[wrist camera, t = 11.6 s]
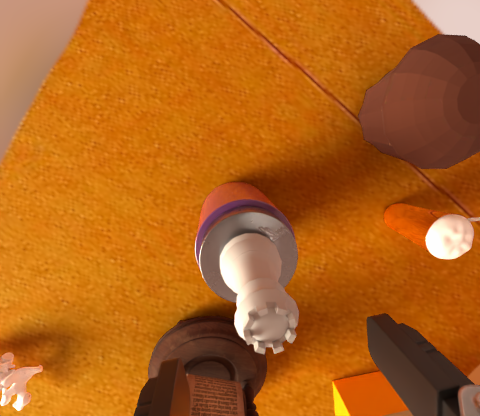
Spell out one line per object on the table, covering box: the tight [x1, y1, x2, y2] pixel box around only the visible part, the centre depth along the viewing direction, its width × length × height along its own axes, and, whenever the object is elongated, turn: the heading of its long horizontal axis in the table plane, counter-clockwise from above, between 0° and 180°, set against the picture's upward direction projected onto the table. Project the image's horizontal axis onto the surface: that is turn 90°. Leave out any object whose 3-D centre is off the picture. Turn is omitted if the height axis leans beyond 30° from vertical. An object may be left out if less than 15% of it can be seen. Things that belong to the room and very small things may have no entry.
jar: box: [195, 182, 295, 268], centre depth 26 cm, size 8×8×12 cm
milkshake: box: [383, 203, 480, 259], centre depth 29 cm, size 4×5×10 cm
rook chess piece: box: [220, 233, 299, 354], centre depth 16 cm, size 4×4×8 cm
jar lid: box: [199, 206, 298, 303], centre depth 21 cm, size 8×8×2 cm
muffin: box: [358, 34, 480, 169], centre depth 26 cm, size 12×11×10 cm
